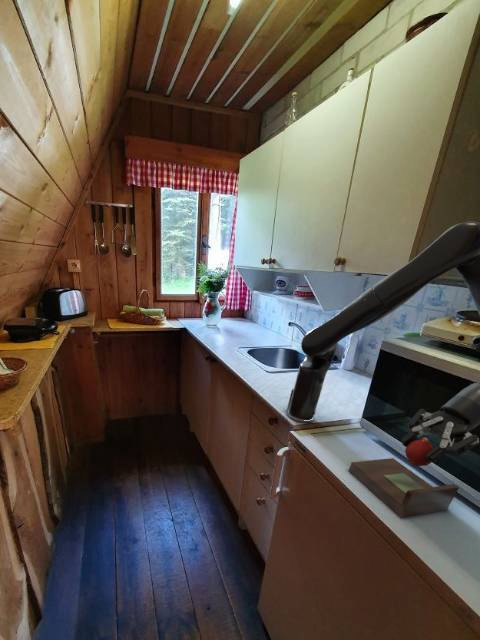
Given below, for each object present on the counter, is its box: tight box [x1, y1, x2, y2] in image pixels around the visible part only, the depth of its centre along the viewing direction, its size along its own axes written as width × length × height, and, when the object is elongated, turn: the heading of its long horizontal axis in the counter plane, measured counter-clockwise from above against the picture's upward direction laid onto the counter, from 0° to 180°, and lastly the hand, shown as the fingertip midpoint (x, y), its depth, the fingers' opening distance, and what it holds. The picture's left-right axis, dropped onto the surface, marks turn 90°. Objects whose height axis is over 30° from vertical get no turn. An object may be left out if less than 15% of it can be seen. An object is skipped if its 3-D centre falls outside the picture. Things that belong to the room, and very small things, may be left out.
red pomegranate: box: [404, 437, 435, 467], centre depth 75 cm, size 6×6×8 cm
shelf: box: [348, 457, 460, 518], centre depth 79 cm, size 17×15×7 cm
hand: (414, 451), depth 74 cm, fingers closed on red pomegranate, 5 cm apart
